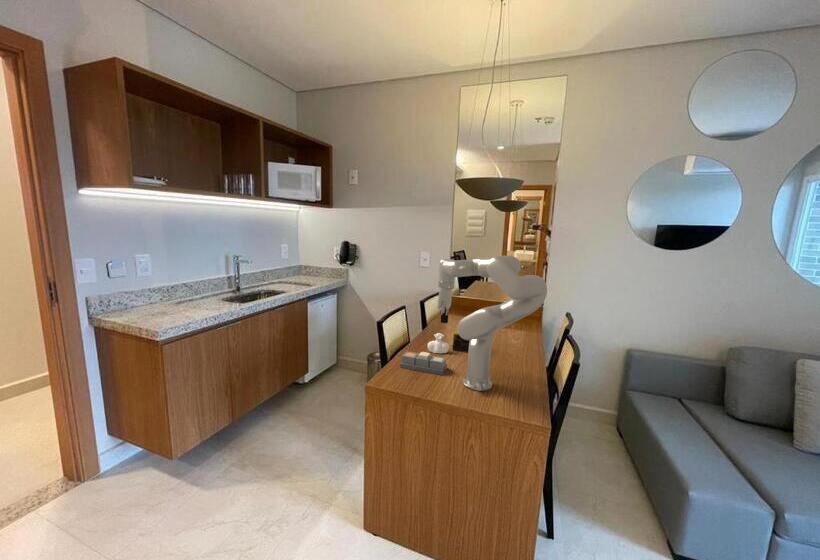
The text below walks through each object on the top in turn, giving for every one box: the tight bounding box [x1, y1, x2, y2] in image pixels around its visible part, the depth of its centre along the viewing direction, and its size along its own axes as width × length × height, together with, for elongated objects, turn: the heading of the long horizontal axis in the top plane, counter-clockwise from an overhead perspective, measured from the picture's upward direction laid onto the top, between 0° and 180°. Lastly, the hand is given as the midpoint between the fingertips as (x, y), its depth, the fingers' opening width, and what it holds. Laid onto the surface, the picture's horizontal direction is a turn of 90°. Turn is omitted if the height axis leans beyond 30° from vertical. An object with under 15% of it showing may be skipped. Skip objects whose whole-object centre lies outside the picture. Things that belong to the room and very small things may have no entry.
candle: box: [451, 328, 470, 353], centre depth 190 cm, size 10×10×10 cm
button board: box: [399, 351, 448, 376], centre depth 162 cm, size 21×9×6 cm, turn 70°
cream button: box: [418, 351, 431, 360], centre depth 162 cm, size 4×4×3 cm
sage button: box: [433, 356, 445, 362], centre depth 160 cm, size 4×4×3 cm
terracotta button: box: [405, 352, 416, 357], centre depth 164 cm, size 4×4×3 cm
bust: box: [427, 332, 450, 355], centre depth 184 cm, size 12×8×11 cm
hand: (444, 322), depth 160 cm, fingers closed
